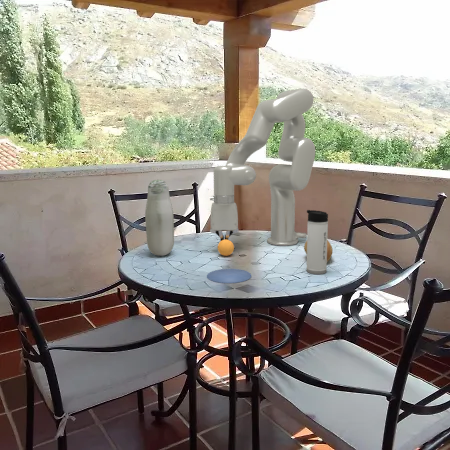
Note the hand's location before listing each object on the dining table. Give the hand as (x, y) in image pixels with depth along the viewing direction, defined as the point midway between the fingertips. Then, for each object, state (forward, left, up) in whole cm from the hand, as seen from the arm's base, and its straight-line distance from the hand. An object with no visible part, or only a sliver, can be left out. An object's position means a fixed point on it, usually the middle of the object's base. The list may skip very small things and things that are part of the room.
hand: (224, 247), depth 166 cm
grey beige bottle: (+24, +2, -2) cm, 24 cm away
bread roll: (-32, +13, -2) cm, 35 cm away
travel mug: (-28, +27, -2) cm, 39 cm away
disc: (0, +29, -2) cm, 29 cm away
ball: (0, +5, +1) cm, 5 cm away
